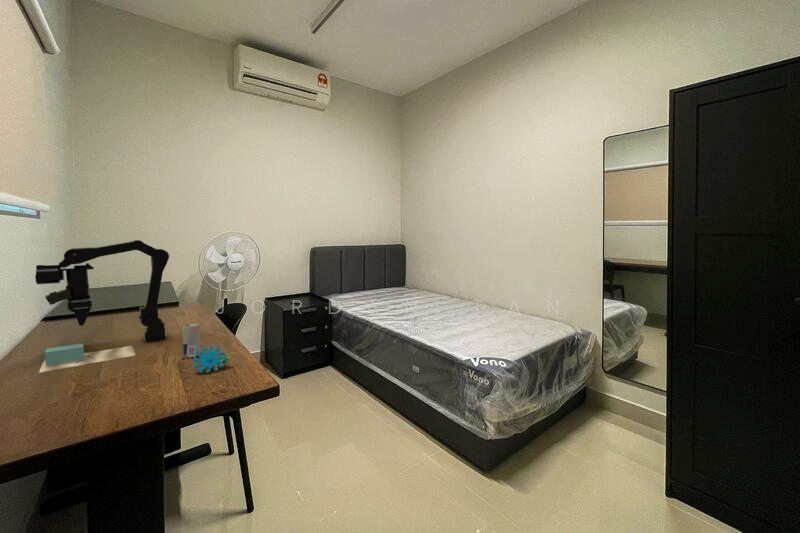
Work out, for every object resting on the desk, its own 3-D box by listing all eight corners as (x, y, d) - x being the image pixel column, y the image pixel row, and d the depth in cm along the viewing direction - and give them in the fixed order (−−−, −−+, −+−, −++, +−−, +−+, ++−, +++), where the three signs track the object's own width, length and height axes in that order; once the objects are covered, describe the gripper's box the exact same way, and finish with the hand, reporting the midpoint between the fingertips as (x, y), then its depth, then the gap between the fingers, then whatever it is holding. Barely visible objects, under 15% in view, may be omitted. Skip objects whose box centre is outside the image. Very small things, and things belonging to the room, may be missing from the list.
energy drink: (188, 353, 127) (187, 323, 126) (203, 353, 127) (202, 323, 126) (180, 358, 121) (179, 326, 120) (195, 358, 122) (194, 326, 121)
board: (132, 348, 131) (132, 345, 131) (135, 358, 121) (135, 355, 121) (44, 363, 115) (43, 359, 115) (39, 376, 105) (38, 372, 105)
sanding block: (84, 356, 118) (83, 343, 118) (83, 360, 115) (82, 346, 114) (47, 362, 112) (46, 348, 112) (46, 367, 109) (44, 352, 108)
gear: (189, 372, 106) (195, 344, 112) (190, 380, 109) (195, 352, 116) (228, 371, 110) (231, 344, 117) (227, 379, 114) (230, 352, 120)
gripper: (47, 281, 123) (51, 322, 125) (44, 287, 110) (48, 332, 112) (88, 278, 131) (91, 317, 133) (90, 284, 118) (93, 326, 119)
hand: (81, 323), depth 124 cm, fingers open, 9 cm apart
